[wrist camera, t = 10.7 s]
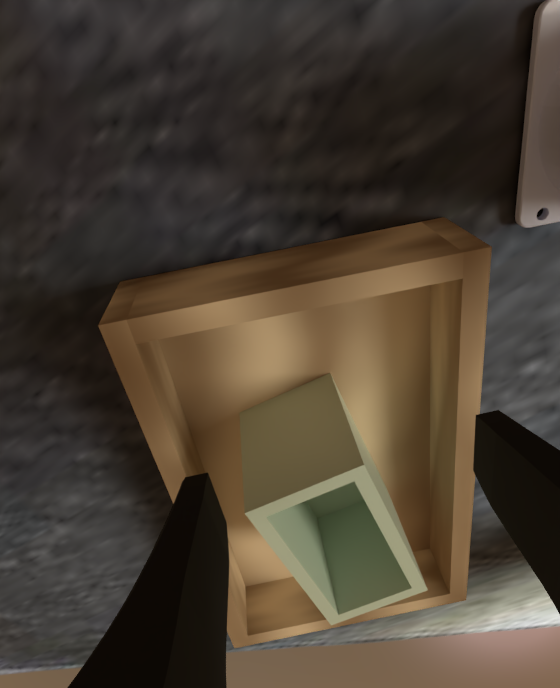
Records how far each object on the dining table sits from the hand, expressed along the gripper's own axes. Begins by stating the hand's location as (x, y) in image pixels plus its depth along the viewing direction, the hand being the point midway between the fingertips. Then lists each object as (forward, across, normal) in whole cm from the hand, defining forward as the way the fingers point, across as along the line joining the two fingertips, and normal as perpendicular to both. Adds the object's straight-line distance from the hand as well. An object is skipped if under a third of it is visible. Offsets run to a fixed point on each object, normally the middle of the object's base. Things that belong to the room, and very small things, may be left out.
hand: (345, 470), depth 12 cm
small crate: (+9, 0, +8) cm, 12 cm away
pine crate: (+10, 0, +8) cm, 13 cm away
